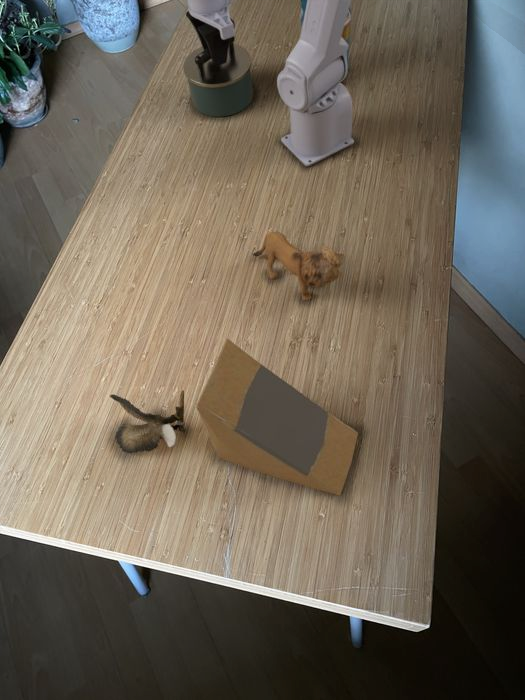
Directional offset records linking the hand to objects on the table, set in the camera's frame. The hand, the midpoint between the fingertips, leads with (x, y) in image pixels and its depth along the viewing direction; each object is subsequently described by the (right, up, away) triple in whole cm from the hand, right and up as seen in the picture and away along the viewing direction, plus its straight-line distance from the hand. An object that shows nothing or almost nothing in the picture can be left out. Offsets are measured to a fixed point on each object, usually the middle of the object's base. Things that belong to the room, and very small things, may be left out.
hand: (216, 58), depth 99 cm
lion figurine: (+13, -39, -15) cm, 44 cm away
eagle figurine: (-6, -59, -25) cm, 65 cm away
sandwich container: (+11, -61, -28) cm, 68 cm away
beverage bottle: (+19, +1, +7) cm, 20 cm away
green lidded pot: (+1, -4, +6) cm, 8 cm away
